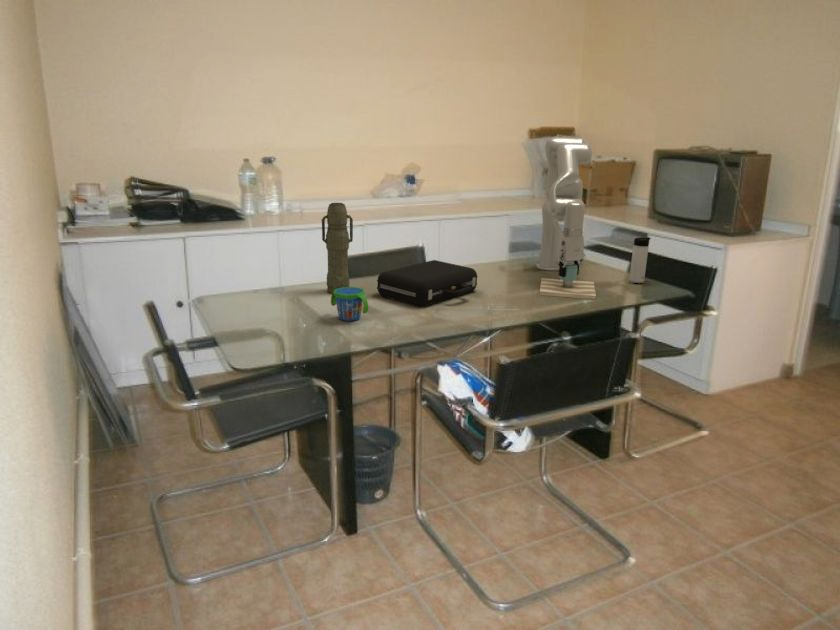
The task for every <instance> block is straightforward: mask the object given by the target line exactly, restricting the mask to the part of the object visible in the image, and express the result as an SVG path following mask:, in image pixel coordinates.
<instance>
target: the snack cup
mask: <svg viewBox="0 0 840 630" xmlns="http://www.w3.org/2000/svg"><path fill="white" fill-rule="evenodd" d="M330 304H331V306H336V310H337V313H338V314H337V315H338V319H339V320H341V321H346V322H352V321H357V320H360V318H361V316H362V315H361V313H363V314H367V313H368V311H369V302H368V300H367V296H366V295H365V289H363V288H362V287H361V288H360V287H357V286H355V287H354V286H349V287H342V288H338V289H336V290H334V291H333V293H332V294H331V298H330ZM362 308H363V309H362Z"/></svg>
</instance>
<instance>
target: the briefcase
mask: <svg viewBox="0 0 840 630" xmlns="http://www.w3.org/2000/svg"><path fill="white" fill-rule="evenodd" d="M478 278H479V277H478V273H477V270H475V269H474V268H473V267H469V266H462V265H459V264H456V263H455V264H454V263H451V262H450V263H449V262H445V261H441V260H436V259H433V260H428V261H423V262H421V263H416V264H411V265H408V266H403V267H400V268H399V267H398V268H395V269H391V270H386V271H382V272H381V273H380V274H379V275H378V277H377V280H376V282H377V286H376V289H377V293H378V294H379V295H380V296H381V297H383V298H387V299H391V300H395V301H398V302H400V303H401V302H402V303H406V304H409V305H413V306H416V307H418V308H419V307H421V308H424V307H426V306H430V305H433V304H436V303H439V302H442V301H446V300H449V299H452V298H456V297H457V296H462V295H465V294H468V293H471V292H473V291H475V289H476V288H477V285H478Z"/></svg>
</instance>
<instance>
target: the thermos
mask: <svg viewBox="0 0 840 630" xmlns="http://www.w3.org/2000/svg"><path fill="white" fill-rule="evenodd" d="M347 210H348V209H347V207H346V204H344V203H343V202H331V203H329V204H328V207H327V212H326V215H324V216H323V217H322V218H321V238H322V239H321V240H322V241H323V242H324V243H325V245H326V246H325V247H326V251H327V274H326V286H327V290H326V291H327V293H328V294H331V295H332V293H333V291H334V290H336V289H338V288H342V287H350V275H349V255H348V254H349V251H348V250H349V248H350V243H352V242H353V240H354V239H353V238H354V233H353V232H354V231H353V230H354V228H353V227H354V224H353V223H354V221H353V217H352V216H351V215H348V211H347ZM348 219H349V231H348V227H347V225H348ZM326 220H327V221H326ZM325 221H326V222H325ZM326 223H327V227H326V225H325V224H326ZM326 229H327V231H326Z"/></svg>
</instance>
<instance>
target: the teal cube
mask: <svg viewBox="0 0 840 630" xmlns="http://www.w3.org/2000/svg"><path fill="white" fill-rule="evenodd" d="M577 266H578V265H576V264H574V263H572V262H567V264H566V266H565V268H566V274H565V277H561V276H558V277H559V280H565V281H577V277H578V275H577V270H578V268H577Z"/></svg>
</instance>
